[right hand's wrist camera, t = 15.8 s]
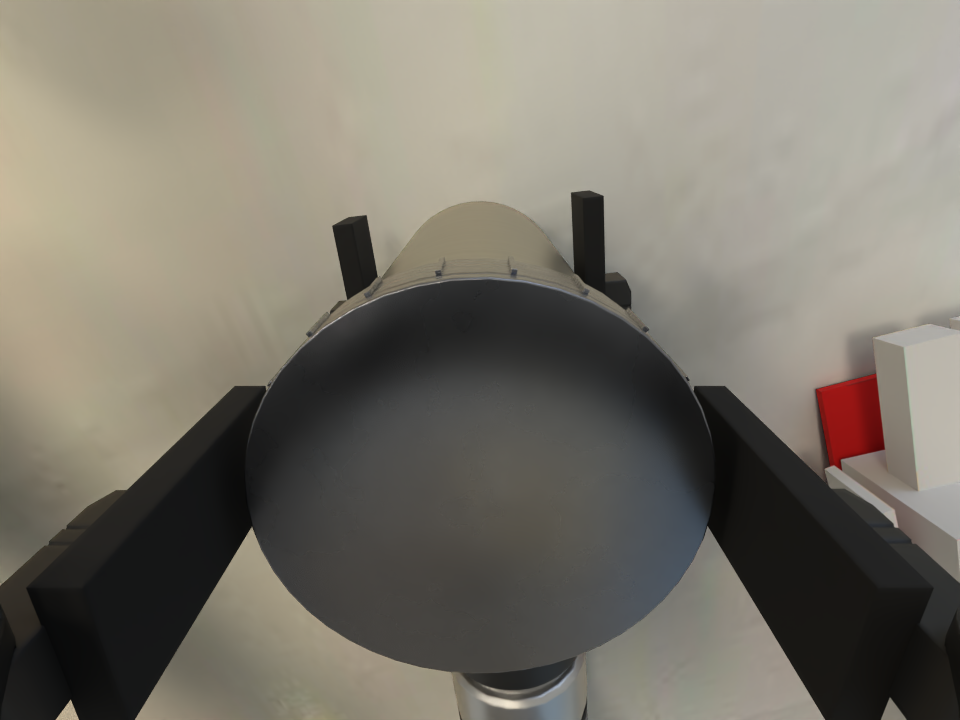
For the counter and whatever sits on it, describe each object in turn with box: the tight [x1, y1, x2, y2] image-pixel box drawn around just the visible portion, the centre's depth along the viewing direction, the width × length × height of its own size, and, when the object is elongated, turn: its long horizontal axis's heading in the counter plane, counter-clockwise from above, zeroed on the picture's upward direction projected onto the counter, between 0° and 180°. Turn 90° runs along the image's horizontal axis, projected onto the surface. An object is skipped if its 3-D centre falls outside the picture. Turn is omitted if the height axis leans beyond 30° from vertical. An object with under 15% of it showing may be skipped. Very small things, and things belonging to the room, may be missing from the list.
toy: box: [816, 316, 960, 720], centre depth 30 cm, size 12×13×30 cm
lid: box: [244, 256, 715, 673], centre depth 12 cm, size 10×10×2 cm
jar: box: [381, 202, 575, 280], centre depth 20 cm, size 9×9×19 cm
